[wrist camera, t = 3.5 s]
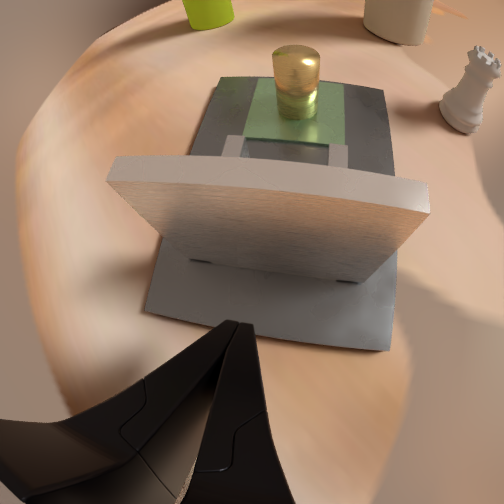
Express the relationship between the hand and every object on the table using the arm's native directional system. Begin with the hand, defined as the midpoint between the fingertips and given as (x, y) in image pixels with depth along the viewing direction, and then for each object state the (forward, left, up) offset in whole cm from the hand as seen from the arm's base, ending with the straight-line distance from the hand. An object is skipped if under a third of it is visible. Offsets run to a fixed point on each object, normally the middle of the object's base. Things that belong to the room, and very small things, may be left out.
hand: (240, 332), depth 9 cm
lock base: (+10, -3, -8) cm, 13 cm away
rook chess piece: (+16, -20, -8) cm, 26 cm away
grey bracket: (+7, -2, -6) cm, 9 cm away
